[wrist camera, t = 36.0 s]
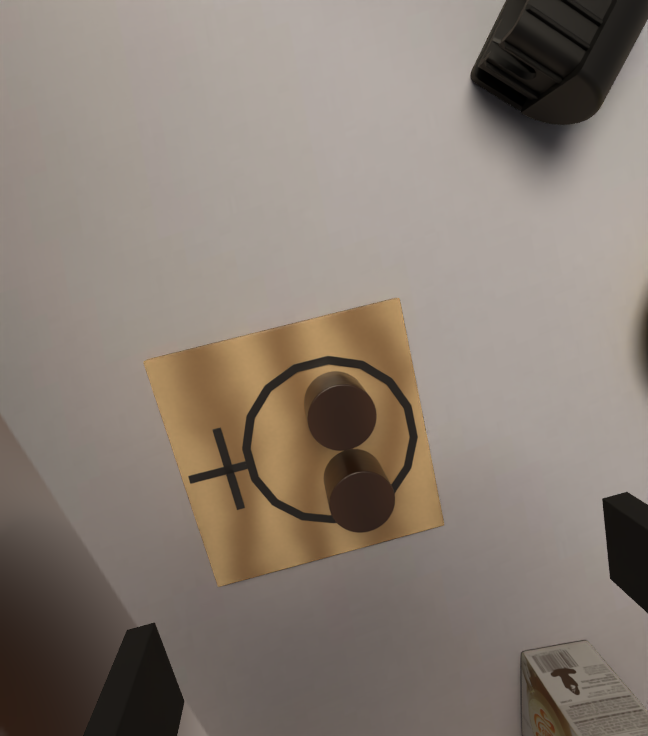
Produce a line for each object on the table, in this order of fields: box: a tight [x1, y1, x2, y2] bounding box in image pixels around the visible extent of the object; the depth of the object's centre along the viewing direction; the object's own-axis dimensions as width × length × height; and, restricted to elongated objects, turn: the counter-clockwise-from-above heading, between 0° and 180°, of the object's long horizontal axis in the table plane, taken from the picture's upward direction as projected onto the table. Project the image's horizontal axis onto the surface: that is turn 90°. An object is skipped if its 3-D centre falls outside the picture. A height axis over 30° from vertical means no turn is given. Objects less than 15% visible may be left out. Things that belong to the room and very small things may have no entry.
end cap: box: [471, 0, 648, 125], centre depth 26 cm, size 10×7×7 cm
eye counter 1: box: [324, 449, 395, 533], centre depth 31 cm, size 4×4×4 cm
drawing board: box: [144, 298, 444, 587], centre depth 33 cm, size 18×18×1 cm
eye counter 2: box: [304, 371, 377, 451], centre depth 30 cm, size 4×4×4 cm
